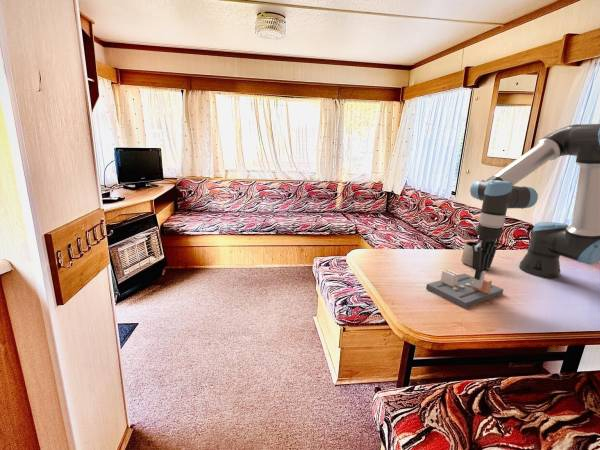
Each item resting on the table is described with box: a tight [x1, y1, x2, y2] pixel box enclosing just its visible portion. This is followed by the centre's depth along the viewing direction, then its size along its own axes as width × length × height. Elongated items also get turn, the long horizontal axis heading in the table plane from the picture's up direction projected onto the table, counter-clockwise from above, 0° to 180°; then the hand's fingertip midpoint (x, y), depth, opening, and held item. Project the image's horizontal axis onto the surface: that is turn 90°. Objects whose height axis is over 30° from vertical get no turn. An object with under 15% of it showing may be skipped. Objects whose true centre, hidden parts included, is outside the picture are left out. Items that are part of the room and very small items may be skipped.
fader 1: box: [440, 269, 460, 287], centre depth 123 cm, size 3×5×5 cm, turn 31°
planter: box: [460, 240, 478, 268], centre depth 150 cm, size 11×11×10 cm
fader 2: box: [472, 277, 493, 293], centre depth 119 cm, size 3×5×5 cm, turn 31°
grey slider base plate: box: [425, 272, 504, 309], centre depth 122 cm, size 24×16×3 cm, turn 121°
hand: (477, 286), depth 117 cm, fingers closed
